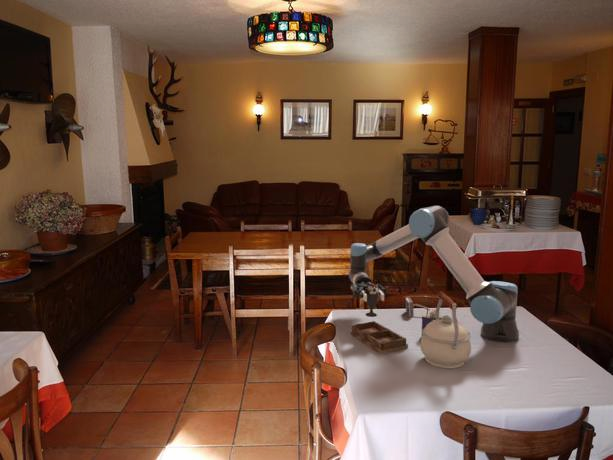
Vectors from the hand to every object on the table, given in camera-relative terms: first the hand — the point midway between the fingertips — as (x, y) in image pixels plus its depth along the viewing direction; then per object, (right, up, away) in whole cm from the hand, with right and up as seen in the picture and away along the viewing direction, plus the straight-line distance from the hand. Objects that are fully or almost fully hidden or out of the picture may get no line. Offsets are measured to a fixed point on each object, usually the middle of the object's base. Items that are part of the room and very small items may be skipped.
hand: (374, 298), depth 214 cm
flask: (+25, -17, +6) cm, 31 cm away
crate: (+2, -18, +2) cm, 18 cm away
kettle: (+24, -21, -16) cm, 36 cm away
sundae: (-1, -8, +7) cm, 11 cm away
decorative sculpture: (+26, -13, +31) cm, 43 cm away
